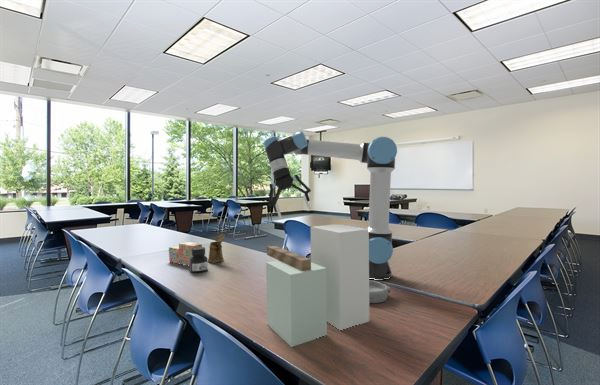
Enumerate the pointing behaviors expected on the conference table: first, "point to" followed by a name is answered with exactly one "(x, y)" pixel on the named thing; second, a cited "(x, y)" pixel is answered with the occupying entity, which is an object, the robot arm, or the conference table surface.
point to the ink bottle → (198, 260)
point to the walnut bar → (289, 258)
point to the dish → (378, 292)
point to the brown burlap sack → (216, 249)
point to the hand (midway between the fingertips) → (294, 213)
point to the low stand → (296, 302)
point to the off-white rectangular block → (343, 272)
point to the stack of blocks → (182, 252)
